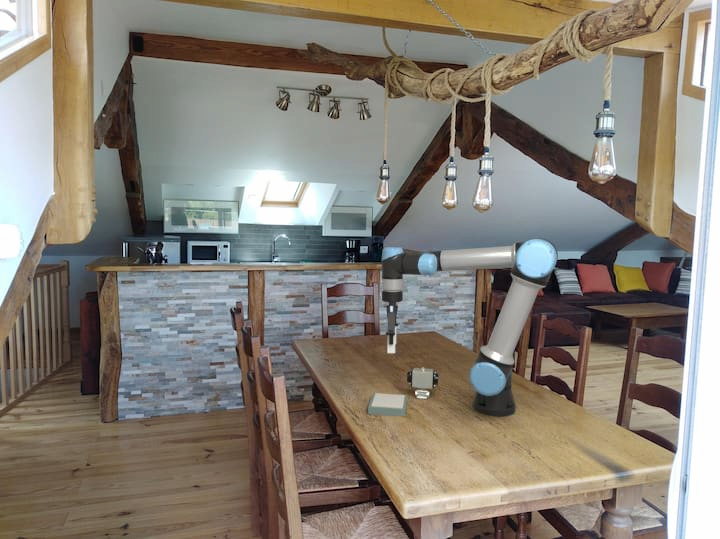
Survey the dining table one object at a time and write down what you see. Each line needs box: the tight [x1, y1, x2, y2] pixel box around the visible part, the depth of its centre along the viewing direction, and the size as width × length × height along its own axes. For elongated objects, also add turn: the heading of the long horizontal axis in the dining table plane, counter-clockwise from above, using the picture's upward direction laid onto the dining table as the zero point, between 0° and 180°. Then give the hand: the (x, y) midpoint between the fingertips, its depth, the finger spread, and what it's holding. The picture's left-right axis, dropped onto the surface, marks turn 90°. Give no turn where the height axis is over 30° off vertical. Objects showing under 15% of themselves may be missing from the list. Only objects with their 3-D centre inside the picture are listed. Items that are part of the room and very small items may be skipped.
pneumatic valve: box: [406, 366, 440, 400], centre depth 198 cm, size 6×12×12 cm, turn 78°
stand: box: [367, 392, 409, 418], centre depth 187 cm, size 13×15×3 cm
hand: (392, 348), depth 187 cm, fingers open, 13 cm apart
